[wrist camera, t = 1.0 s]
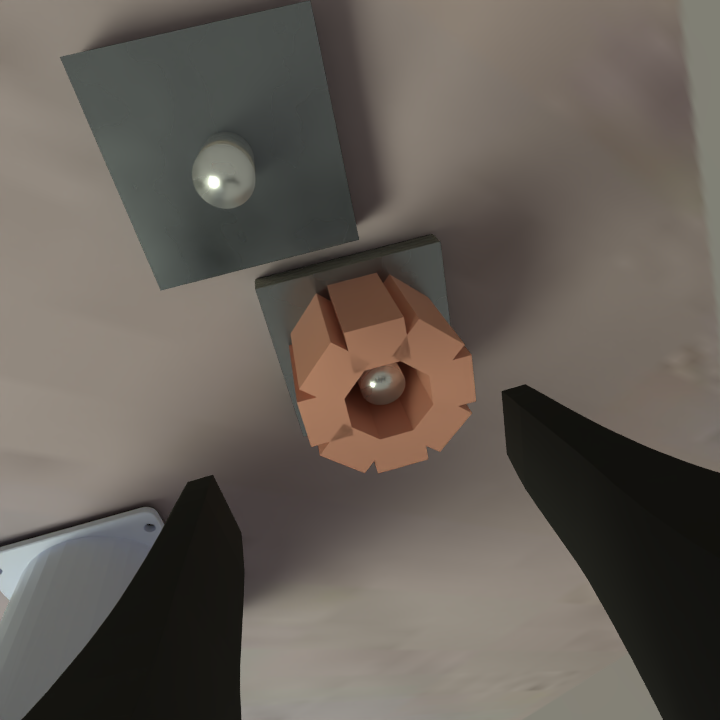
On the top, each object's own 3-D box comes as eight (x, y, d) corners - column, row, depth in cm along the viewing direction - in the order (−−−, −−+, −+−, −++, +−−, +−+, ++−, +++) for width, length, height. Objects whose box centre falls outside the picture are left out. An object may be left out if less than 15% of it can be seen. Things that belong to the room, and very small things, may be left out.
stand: (451, 381, 24) (485, 435, 20) (301, 423, 23) (310, 484, 20) (432, 233, 20) (469, 268, 17) (255, 279, 20) (256, 324, 16)
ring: (445, 386, 23) (480, 444, 19) (312, 423, 22) (324, 488, 19) (427, 259, 20) (465, 300, 16) (274, 299, 19) (279, 350, 16)
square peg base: (351, 228, 19) (377, 268, 16) (166, 274, 19) (145, 328, 15) (305, 5, 16) (323, -14, 12) (75, 57, 15) (18, 55, 12)
